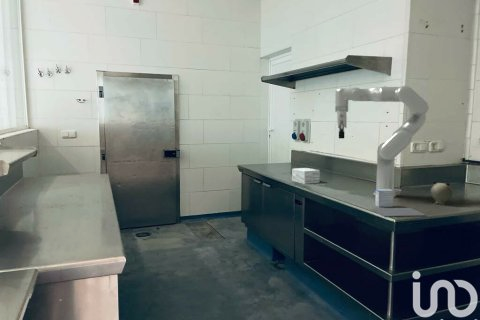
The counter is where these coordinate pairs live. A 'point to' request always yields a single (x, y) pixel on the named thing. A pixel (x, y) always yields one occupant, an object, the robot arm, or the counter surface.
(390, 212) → the rubber mat
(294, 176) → the supplement box
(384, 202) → the medicine box
